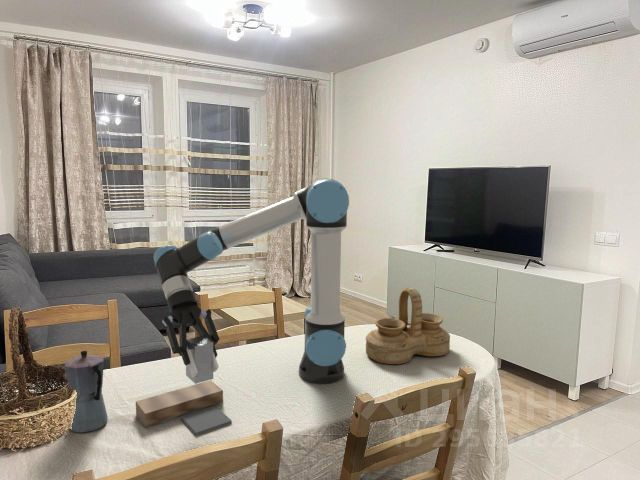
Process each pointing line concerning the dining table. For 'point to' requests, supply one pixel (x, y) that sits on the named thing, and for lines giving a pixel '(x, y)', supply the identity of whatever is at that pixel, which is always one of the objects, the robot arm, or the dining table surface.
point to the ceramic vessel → (407, 334)
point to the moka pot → (87, 391)
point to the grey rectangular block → (201, 358)
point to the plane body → (178, 403)
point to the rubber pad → (205, 420)
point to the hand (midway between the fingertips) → (205, 372)
